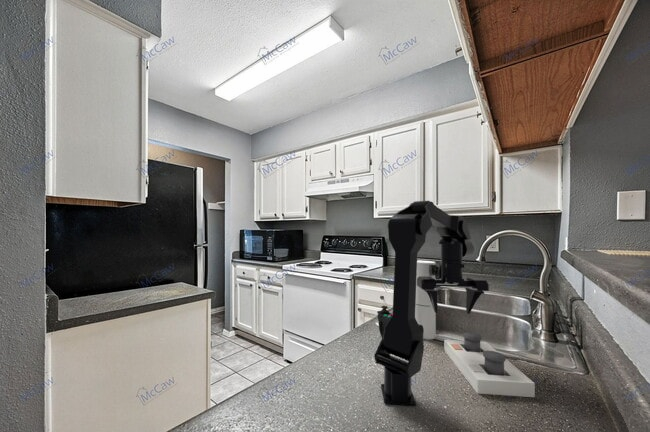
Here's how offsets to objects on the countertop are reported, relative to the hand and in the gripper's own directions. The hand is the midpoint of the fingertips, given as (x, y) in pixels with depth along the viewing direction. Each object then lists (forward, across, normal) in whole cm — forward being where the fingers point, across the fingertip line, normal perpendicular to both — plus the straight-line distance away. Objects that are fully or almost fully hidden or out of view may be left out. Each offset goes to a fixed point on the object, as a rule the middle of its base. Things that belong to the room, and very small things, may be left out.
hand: (451, 313), depth 81 cm
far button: (+10, -5, +2) cm, 11 cm away
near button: (+10, -4, +14) cm, 18 cm away
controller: (+12, +17, -8) cm, 22 cm away
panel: (+12, -4, +8) cm, 15 cm away
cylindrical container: (+12, +4, -14) cm, 19 cm away
